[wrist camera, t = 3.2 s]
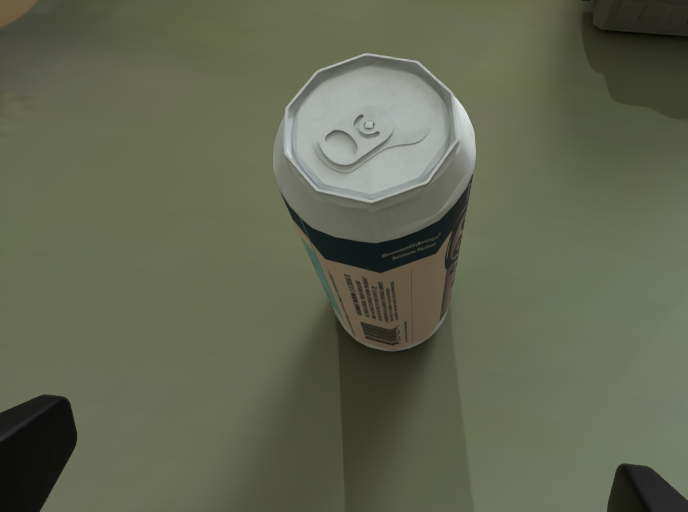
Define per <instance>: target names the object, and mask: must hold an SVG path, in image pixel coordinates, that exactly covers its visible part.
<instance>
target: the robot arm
mask: <svg viewBox="0 0 688 512" xmlns="http://www.w3.org/2000/svg"><path fill="white" fill-rule="evenodd" d="M76 442H77V431H76V426H75V422H74V417H73V413H72V409H71V404H70V402H69V400H68V399H67V398H65V397H63V396H55V395H41V396H38V397H36V398H34V399H31V400H29V401H27V402H24V403H22V404H20V405H18V406H15V407H13V408H11V409H8V410H6V411H4V412H1V413H0V512H40V510H41V508H42V507H43V505H44V503H45V501H46V499H47V498H48V496H49V494H50V492H51V490H52V489H53V487H54V485H55V483H56V481H57V480H58V478H59V476H60V474H61V472H62V471H63V469H64V467H65V465H66V463H67V461H68V460H69V458H70V456H71V454H72V452H73V451H74V448H75V446H76ZM607 512H688V500H686V499H685V498H684V497H683V496H682V495H681V494H680V493H679V492H678V491H676V490H675V489H674V488H673V487H672V486H671V485H670V484H669V483H668V482H666V481H665V480H664V479H663V478H662V477H661V476H660V475H659V474H658V473H656V472H655V471H654V470H653V469H651V468H650V467H647V466H642V465H633V464H621V465H619V466H618V468H617V470H616V473H615V477H614V481H613V485H612V489H611V493H610V497H609V501H608V507H607Z"/></svg>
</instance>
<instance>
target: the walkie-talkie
mask: <svg viewBox="0 0 688 512" xmlns="http://www.w3.org/2000/svg"><path fill="white" fill-rule="evenodd" d="M582 1H590V0H582ZM593 24H594V25H595V26H597V27H598V28H600V29H602V30H615V31H628V32H640V33H653V34H666V35H678V36H688V0H595V3H594V14H593Z"/></svg>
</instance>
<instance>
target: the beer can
mask: <svg viewBox="0 0 688 512" xmlns="http://www.w3.org/2000/svg"><path fill="white" fill-rule="evenodd" d="M475 159H476V149H475V135H474V131H473V127H472V124H471V122H470V120H469V117H468V115H467V113H466V111H465V109H464V108H463V106H462V105H461V104H460V102H459V101H458V100H457V99H456V98H455V97H454V93H453V92H452V91H451V90H449V89H448V88H447V87H446V86H445V85H444V84H443V83H442V82H441V81H439V80H438V79H437V78H436V77H435V76H434V75H433V74H432V73H431V72H429V71H428V70H427V69H426V68H425V67H424V66H423V65H422V64H421V63H419V62H418V61H414V60H408V59H401V58H395V57H389V56H382V55H376V54H370V53H365V54H362V55H360V56H357V57H354V58H351V59H348V60H345V61H343V62H340V63H337V64H334V65H331V66H328V67H325V68H323V69H320V70H317V71H316V72H315V74H314V75H313V76H312V77H311V78H310V79H309V81H308V82H307V83H306V84H305V85H304V87H303V88H302V89H301V90H300V91H299V92H298V94H297V95H296V96H295V97H294V98H293V100H292V101H291V102H290V103H289V104H288V105H287V107H286V110H285V116H284V118H283V120H282V122H281V124H280V127H279V129H278V133H277V136H276V139H275V142H274V156H273V170H274V173H275V177H276V182H277V186H278V188H279V190H280V192H281V195H282V197H283V199H284V201H285V203H286V206H287V208H288V210H289V212H290V214H291V217H292V219H293V221H294V223H295V225H296V228H297V230H298V232H299V234H300V236H301V239H302V241H303V243H304V245H305V247H306V250H307V252H308V254H309V256H310V258H311V261H312V263H313V265H314V267H315V269H316V272H317V274H318V276H319V278H320V280H321V283H322V285H323V287H324V289H325V291H326V294H327V296H328V298H329V300H330V302H331V305H332V307H333V309H334V311H335V313H336V316H337V318H338V319H339V321H340V322H341V324H342V326H343V327H344V329H345V330H346V331H347V332H348V333H349V334H350V335H351V336H352V337H353V338H354V339H355V340H357V341H358V342H360V343H362V344H364V345H366V346H368V347H370V348H375V349H379V350H384V351H398V350H404V349H409V348H411V347H414V346H416V345H418V344H421V343H422V342H424V341H425V340H427V339H428V338H429V337H431V336H432V335H433V334H434V333H435V332H436V331H437V329H438V328H439V327H440V325H441V324H442V322H443V321H444V319H445V316H446V314H447V311H448V309H449V305H450V299H451V294H452V288H453V283H454V277H455V272H456V266H457V260H458V255H459V249H460V244H461V238H462V233H463V227H464V222H465V216H466V211H467V205H468V200H469V194H470V189H471V183H472V178H473V172H474V166H475Z"/></svg>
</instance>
